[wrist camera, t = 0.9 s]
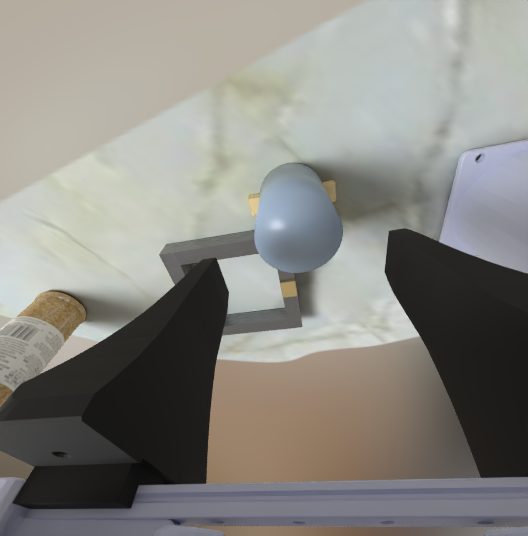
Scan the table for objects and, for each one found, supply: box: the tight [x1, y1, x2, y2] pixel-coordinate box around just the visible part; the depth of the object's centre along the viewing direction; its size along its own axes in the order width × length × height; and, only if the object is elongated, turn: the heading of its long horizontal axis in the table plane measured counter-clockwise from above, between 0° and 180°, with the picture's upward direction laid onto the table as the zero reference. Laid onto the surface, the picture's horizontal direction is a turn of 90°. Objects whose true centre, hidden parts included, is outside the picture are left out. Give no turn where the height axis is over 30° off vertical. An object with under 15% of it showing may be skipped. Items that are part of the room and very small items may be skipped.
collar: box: [159, 230, 302, 335], centre depth 21 cm, size 10×10×2 cm
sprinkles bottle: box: [0, 291, 86, 407], centre depth 19 cm, size 5×5×14 cm
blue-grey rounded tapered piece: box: [248, 163, 343, 273], centre depth 15 cm, size 6×4×6 cm
